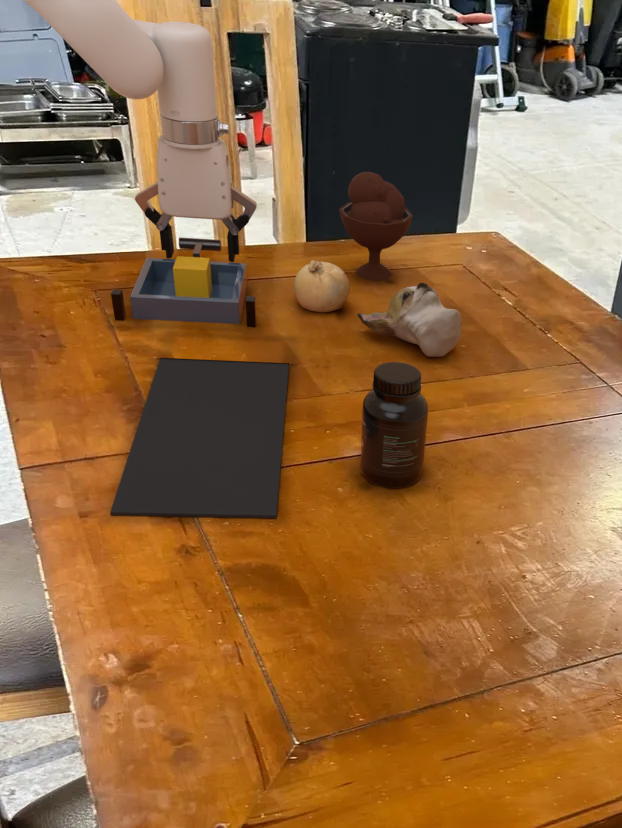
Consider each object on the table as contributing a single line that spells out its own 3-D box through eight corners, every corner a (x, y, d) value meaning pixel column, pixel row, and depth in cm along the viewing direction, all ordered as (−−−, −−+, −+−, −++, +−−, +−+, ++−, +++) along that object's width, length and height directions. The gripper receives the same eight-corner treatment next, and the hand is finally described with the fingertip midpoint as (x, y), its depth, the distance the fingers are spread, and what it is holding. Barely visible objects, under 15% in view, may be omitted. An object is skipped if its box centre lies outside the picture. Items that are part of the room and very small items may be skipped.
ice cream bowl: (380, 293, 134) (385, 189, 125) (324, 272, 139) (325, 169, 129) (422, 275, 141) (429, 175, 131) (367, 256, 146) (370, 157, 136)
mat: (110, 515, 87) (110, 512, 87) (169, 330, 118) (169, 328, 118) (276, 518, 89) (276, 515, 89) (291, 336, 120) (291, 333, 120)
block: (176, 299, 124) (172, 267, 121) (180, 287, 128) (177, 255, 125) (209, 301, 125) (206, 269, 122) (212, 289, 128) (209, 257, 125)
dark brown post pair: (256, 331, 121) (254, 301, 118) (115, 324, 118) (110, 293, 115) (256, 326, 122) (255, 296, 119) (117, 319, 119) (112, 288, 117)
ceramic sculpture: (426, 306, 110) (352, 272, 119) (423, 372, 115) (353, 335, 124) (487, 291, 116) (413, 259, 124) (481, 354, 121) (411, 320, 130)
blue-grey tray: (240, 327, 121) (237, 292, 118) (133, 322, 119) (128, 286, 116) (250, 272, 136) (248, 239, 132) (155, 267, 134) (151, 234, 131)
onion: (296, 294, 131) (295, 246, 126) (350, 298, 132) (351, 250, 127) (292, 317, 125) (290, 267, 120) (348, 321, 126) (349, 271, 121)
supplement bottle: (360, 454, 100) (363, 355, 92) (420, 457, 100) (429, 358, 92) (360, 488, 94) (363, 386, 87) (423, 491, 95) (433, 390, 87)
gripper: (256, 128, 125) (262, 251, 137) (129, 118, 123) (145, 244, 134) (253, 142, 120) (258, 270, 131) (119, 132, 117) (137, 263, 129)
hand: (201, 256), depth 133 cm, fingers open, 8 cm apart
